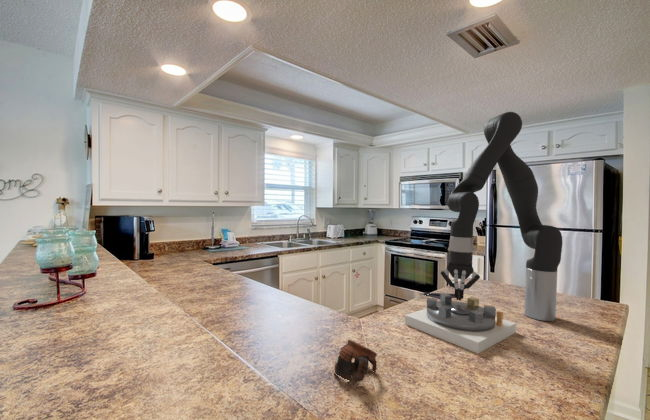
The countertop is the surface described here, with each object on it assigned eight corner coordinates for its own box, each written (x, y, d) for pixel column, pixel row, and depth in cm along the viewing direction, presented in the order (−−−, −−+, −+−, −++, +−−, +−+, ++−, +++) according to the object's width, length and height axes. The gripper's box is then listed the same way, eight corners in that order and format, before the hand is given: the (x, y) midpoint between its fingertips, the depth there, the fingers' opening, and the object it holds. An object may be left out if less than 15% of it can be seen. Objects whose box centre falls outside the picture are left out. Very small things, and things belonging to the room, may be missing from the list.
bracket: (432, 307, 120) (432, 300, 120) (423, 295, 135) (423, 289, 135) (470, 309, 119) (470, 302, 119) (456, 297, 134) (457, 291, 134)
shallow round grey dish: (447, 304, 112) (448, 290, 112) (506, 321, 96) (507, 306, 96) (414, 315, 100) (414, 299, 100) (474, 337, 84) (475, 319, 84)
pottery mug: (326, 368, 73) (340, 334, 76) (360, 384, 74) (373, 350, 77) (340, 383, 62) (355, 343, 65) (380, 402, 63) (394, 361, 66)
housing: (445, 310, 115) (446, 291, 115) (515, 332, 96) (516, 310, 96) (404, 324, 101) (405, 303, 100) (477, 353, 81) (478, 327, 81)
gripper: (481, 250, 107) (479, 299, 107) (440, 246, 112) (438, 294, 112) (483, 253, 100) (480, 305, 100) (439, 249, 105) (437, 299, 105)
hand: (458, 299), depth 106 cm, fingers closed
